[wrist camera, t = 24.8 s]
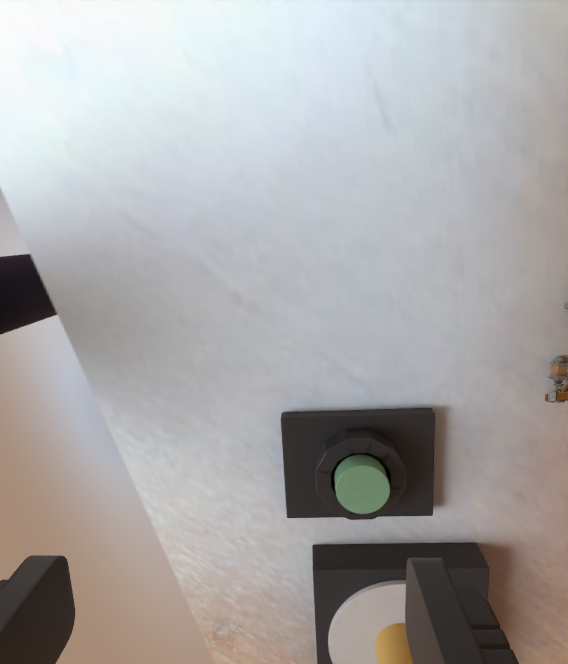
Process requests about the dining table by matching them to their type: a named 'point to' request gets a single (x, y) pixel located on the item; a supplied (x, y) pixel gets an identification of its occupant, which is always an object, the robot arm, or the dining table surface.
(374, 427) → the block
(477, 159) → the dining table surface
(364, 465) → the button
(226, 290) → the dining table surface
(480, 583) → the scale
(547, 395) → the wooden post with brackets
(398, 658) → the brass weight
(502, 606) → the dining table surface
